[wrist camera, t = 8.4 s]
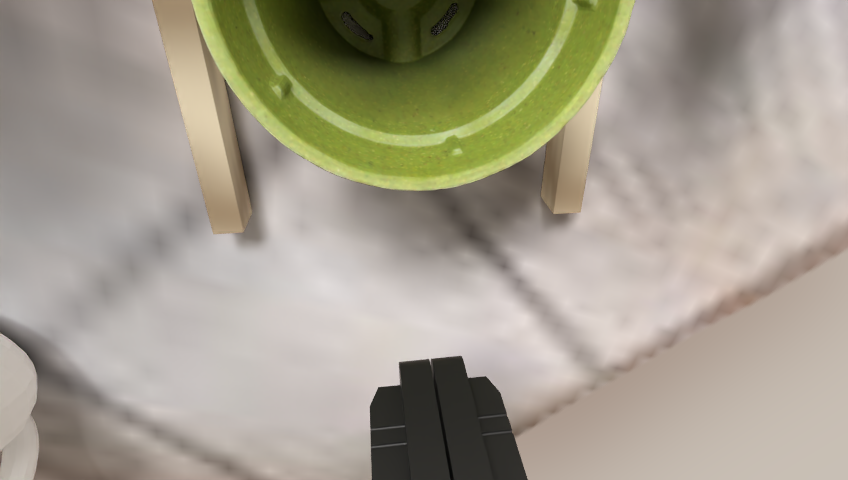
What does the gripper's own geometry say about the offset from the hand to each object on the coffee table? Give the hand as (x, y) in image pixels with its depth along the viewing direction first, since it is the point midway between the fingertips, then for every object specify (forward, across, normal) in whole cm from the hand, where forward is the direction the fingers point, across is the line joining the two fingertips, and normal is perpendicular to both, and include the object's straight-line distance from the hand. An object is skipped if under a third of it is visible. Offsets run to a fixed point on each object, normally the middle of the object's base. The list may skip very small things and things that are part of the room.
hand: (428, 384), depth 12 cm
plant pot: (+12, 0, -8) cm, 14 cm away
